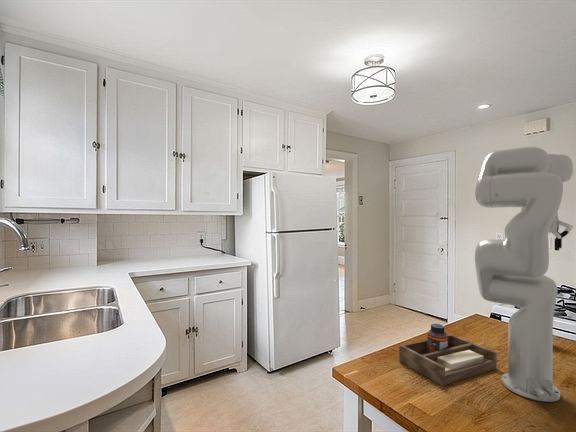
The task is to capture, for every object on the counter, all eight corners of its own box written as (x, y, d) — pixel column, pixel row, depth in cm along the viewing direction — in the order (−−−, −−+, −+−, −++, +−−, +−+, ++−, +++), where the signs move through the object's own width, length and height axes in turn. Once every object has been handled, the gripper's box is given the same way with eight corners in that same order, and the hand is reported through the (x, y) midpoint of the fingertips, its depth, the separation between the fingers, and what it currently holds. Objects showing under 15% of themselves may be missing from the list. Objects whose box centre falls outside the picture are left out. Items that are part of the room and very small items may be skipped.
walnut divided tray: (496, 368, 94) (496, 352, 94) (442, 385, 84) (442, 367, 84) (450, 347, 108) (450, 333, 108) (399, 360, 98) (399, 345, 98)
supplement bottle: (423, 357, 101) (423, 323, 101) (436, 354, 103) (436, 321, 103) (438, 365, 95) (438, 329, 95) (451, 362, 98) (451, 327, 98)
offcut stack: (486, 370, 93) (486, 355, 93) (444, 381, 86) (444, 366, 86) (470, 362, 98) (470, 348, 98) (429, 373, 91) (429, 358, 91)
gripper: (506, 200, 110) (505, 247, 109) (570, 198, 96) (570, 252, 96) (512, 201, 114) (512, 246, 114) (574, 199, 101) (574, 250, 101)
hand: (538, 249), depth 105 cm, fingers open, 9 cm apart
